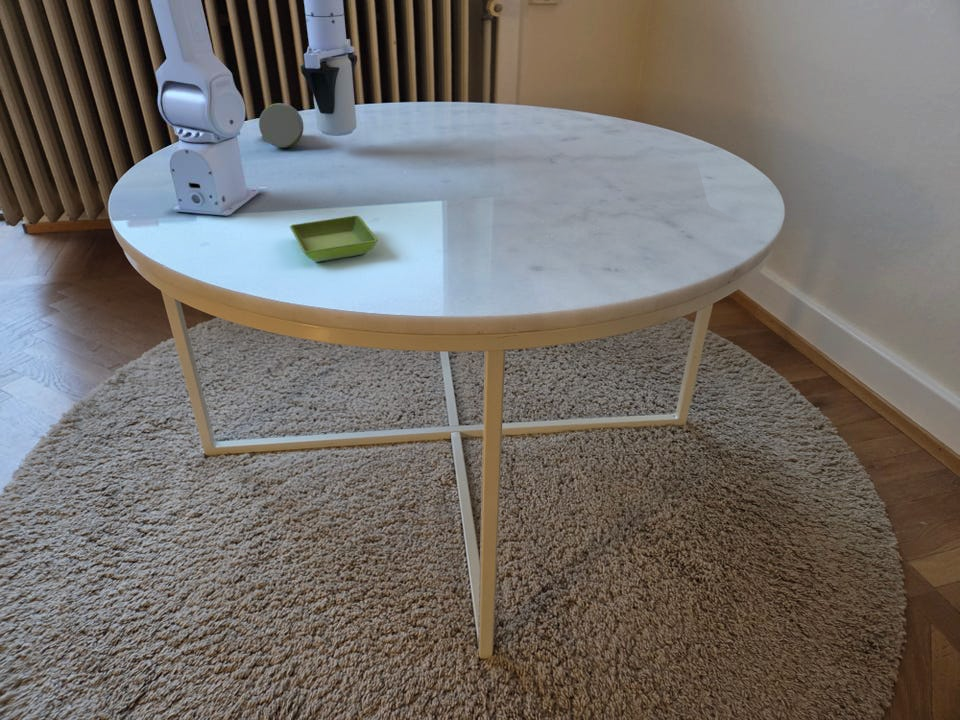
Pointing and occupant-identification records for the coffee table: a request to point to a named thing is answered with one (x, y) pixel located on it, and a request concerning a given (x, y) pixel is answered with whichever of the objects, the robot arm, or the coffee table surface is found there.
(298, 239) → the green tray
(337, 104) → the beverage can
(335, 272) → the coffee table surface
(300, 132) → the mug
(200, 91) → the robot arm
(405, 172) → the coffee table surface
